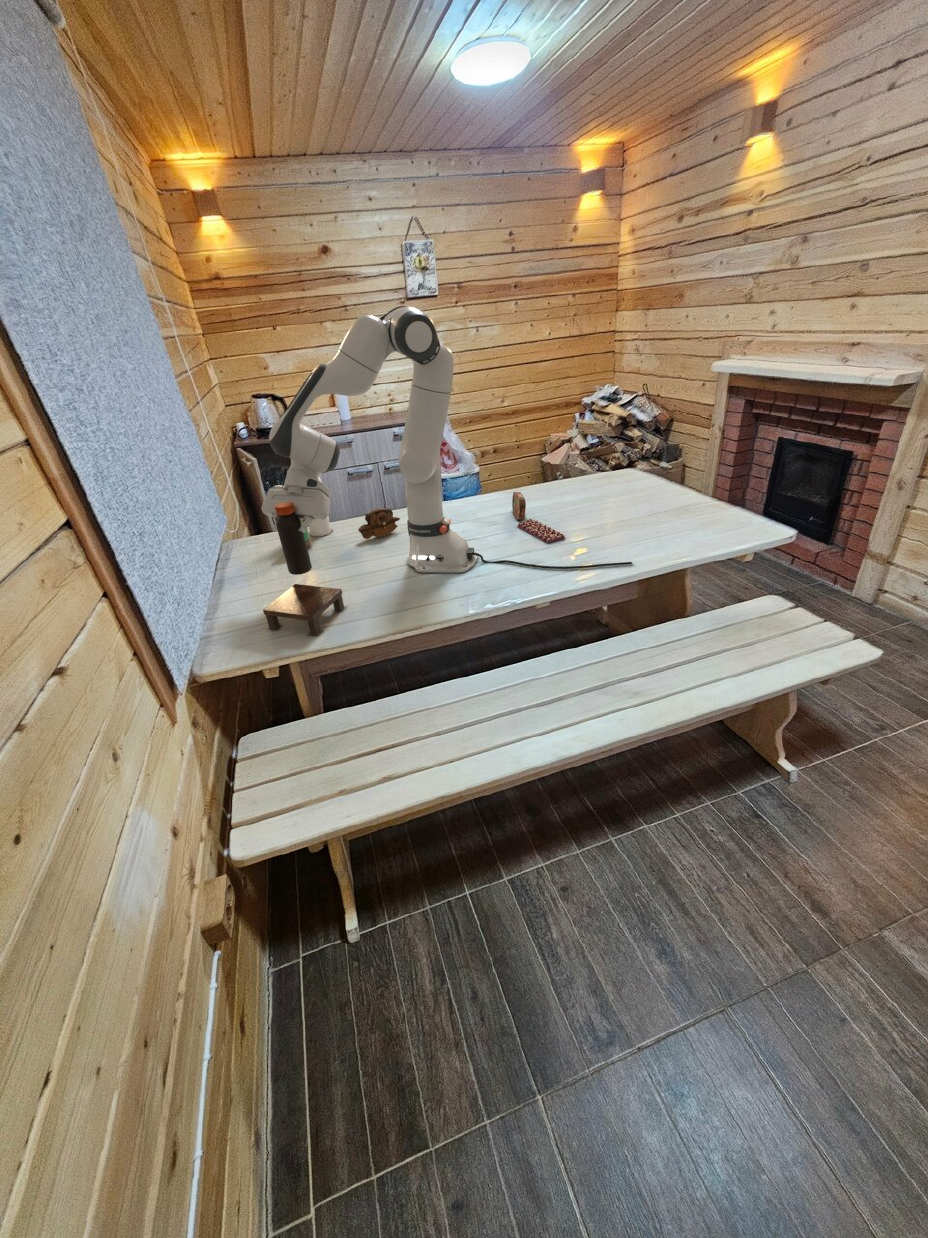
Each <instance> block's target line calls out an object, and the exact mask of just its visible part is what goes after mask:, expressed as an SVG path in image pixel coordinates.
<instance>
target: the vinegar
mask: <svg viewBox="0 0 928 1238" xmlns="http://www.w3.org/2000/svg"><path fill="white" fill-rule="evenodd" d="M275 509H276V513H277V516H279V520H278V521H277V523H276V526H277V530H278V531H277V533H278V537H279V542H280V544H281V548H282V552H283V556H284V559H285V563H286V566H287V570H288V573H289V574H291V575H295V576H297V575H304V574H306V573H309V572H310V571H311V570H312V569H313V565H312V561H311V558H310V557H311V556H310V553H309V549H307V544H306V540H305V536H304V533H300V532H299V531H298V528H299V525H302V524H301V520H300V519H299V518H298V517H296V516H295V515H294V513H295V510H294V506H293V503H292V502H283V503H279V504H277V505H275Z"/></svg>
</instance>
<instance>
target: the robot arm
mask: <svg viewBox="0 0 928 1238" xmlns="http://www.w3.org/2000/svg"><path fill="white" fill-rule="evenodd" d="M395 352H396V353H398V354H400V355H403V356H405V357H407V358H408V359H410V360H412V365H413V374H412V379H411V385H410V391H409V392H410V393H409V399H408V407H407V414H406V419H405V423H404V429H403V432H402V438H401V443H400V444H401V445H400V449H399V455H398V469H399V472H400V474H401V476H403V479H405V501H406V513H407V522H406V523H407V532H408V537H409V553H408V559H407V563H408V565H409V566H410V567H412V568H413V569H415V571H416V572H417V573H451V574H452V573H455V574H456V573H465V572H467V571H469V570H470V569H472V567H474V565H475V564H476V562H477V559H478V557H479V558H480V560H481V562H482V563H484V564H503V563H505V564H506V563H507V564H512V565H513V564H514V565H520V566H525V567H531V568H537V569H538V568H539V569H549V570H551V569H552V570H574V569H589V568H591V569H592V568H599V567H600V568H601V567H611V566H624V565H625V566H626V565H632V564H633V561H623V562H610V563H599V564H598V563H597V564H589V565H588V564H587V565H571V566H570V565H569V566H560V565H559V566H556V565H555V566H554V565H540V564H531V563H525V562H520V561H515V560H509V559H507V560H506V559H503V560H494V561H488V560H485V559H484V556H483V555H482V554H480V553H478V552H475V547H469V544H468V542H467V540H466V538H464V537H462V536H461V535H459V534H458V533H457V532H455V531H453V530H452V529H451V528H450V527H451V526H450V524H451V521H452V519H448V520H447V518H445V516H444V509H443V497H442V496H443V494H442V493H443V492H442V461H441V446H442V440H443V437H444V431H445V427H446V422H447V417H448V410H449V405H450V399H451V394H452V389H453V383H454V382H453V380H454V367H455V366H454V364H455V363H454V362H455V361H454V360H455V358H454V354H453V352H452V350H451V349H450V348H449V347H448V346H447V345H444V344H442V343H441V342H440V339H439V336H438V332H437V329H436V325H435V323H434V321H433V320H432V318H431V317H430V316H429V315H428V314H427V313H426V312H424V311H422V310H420V309H419V308H417V307H413V306H406V305H405V306H404V305H400V306H396V307H394V308H392V309H390V310H389V311H387V313H385V314H384V315H382V316H381V317H377V316H375V315H372V314H362V315H360V316H357V318H356V319H355V321H354V322H353V324H352V325H351V327H350V328H349V330H348V331H347V333H346V335H345V336H344V338H343V341H342V342H341V344H340V347H339V349H338V351H337V352H336V355H335V356H333V358H332V359H331V360H330V361H328V362H327V363H319V364H318V365H317V366H315V367H314V368H313V370H312V371H311V372H310V373H309V374H308V376H307V378H306V379H305V380H304V382H303V383H302V385H301V386H300V388H299V389H298V391H297V392H296V393H295V395H294V397H293V398H292V400H291V401H290V403H289V404H288V406H287V407H286V409H285V410H284V412H283V413H282V414H281V415H280V417H279V418H278V419H277V420H276V421H275V423H274V424H273V425H272V427H271V429H270V431H269V435H268V442H269V446H270V447H271V449H272V451H273V452H274V453H275V454H276V456H277V455H278V456H281V457H283V458H285V459H286V458H287V459H290V466H289V468H288V470H287V471H286V476H285V479H284V483H283V485H273V486H271V487H269V488H268V489H267V490H268V491H267V492H266V495H265V496H264V499H263V502H262V505H261V511H262V513H263V514H264V515H266V516H267V517H268V518H269V517H270V518H272V520H273V523H274V524H273V530H274V531H275V532H278V530H277V526H276V523H277V521H278V520H279V516H277V513H276V509H275V505H277V504H279V503H283V502H292V503H293V506H294V510H295V513H294V515H295V516H296V517H298V518H301V519H304V520H305V521H304V522H303V523H302V525H299V528H298V531H299V532H300V533H306V529H307V527H308V528H309V525H310V524H311V523H312V520H313V519H318V520H325V519H326V518H327V517H329V514H330V509H331V499H330V498H331V497H332V491H331V490H330V489H329V487H328V486H327V485H326V484H324V483H323V482H322V481H321V482H322V483H321V482H320V481H319V477H320V475H321V474H326V473H329V472H331V471H333V470H335V469H336V468H337V465H338V462H339V458H340V453H341V450H340V446H339V444H338V442H337V441H336V440H335V439H333V438H332V437H330V436H328V435H326V434H324V433H322V432H319V431H317V430H315V429H313V428H310V427H309V426H306V425H304V424H303V423H302V422H301V421H302V420H303V418H304V416H306V414H307V412H308V411H309V409H310V408H311V407H312V405H313V403H314V402H315V400H316V399H317V398H319V397H321V396H324V395H337V396H338V395H339V396H345V397H346V396H347V397H355V396H356V397H357V396H360V395H363V394H365V393H367V392H368V391H370V390H371V388H372V387H373V385H374V384H375V381H376V379H377V377H378V375H379V373H380V371H381V369H382V367H383V364H384V362H385V361H386V359H387V358H388V356H390V355H391V354H393V353H395Z"/></svg>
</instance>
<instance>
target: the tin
mask: <svg viewBox="0 0 928 1238" xmlns="http://www.w3.org/2000/svg"><path fill="white" fill-rule="evenodd" d="M511 500H512V501H511V504H512V505H511V507H512V513H513V515H514V517H515V519H516V520H524V519H525V518H526V508H527V505H526V504H527V503H526V502H527V501H526V499H525V497H524V495H523V493H522V492H520V491H513V494H512V499H511Z"/></svg>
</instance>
